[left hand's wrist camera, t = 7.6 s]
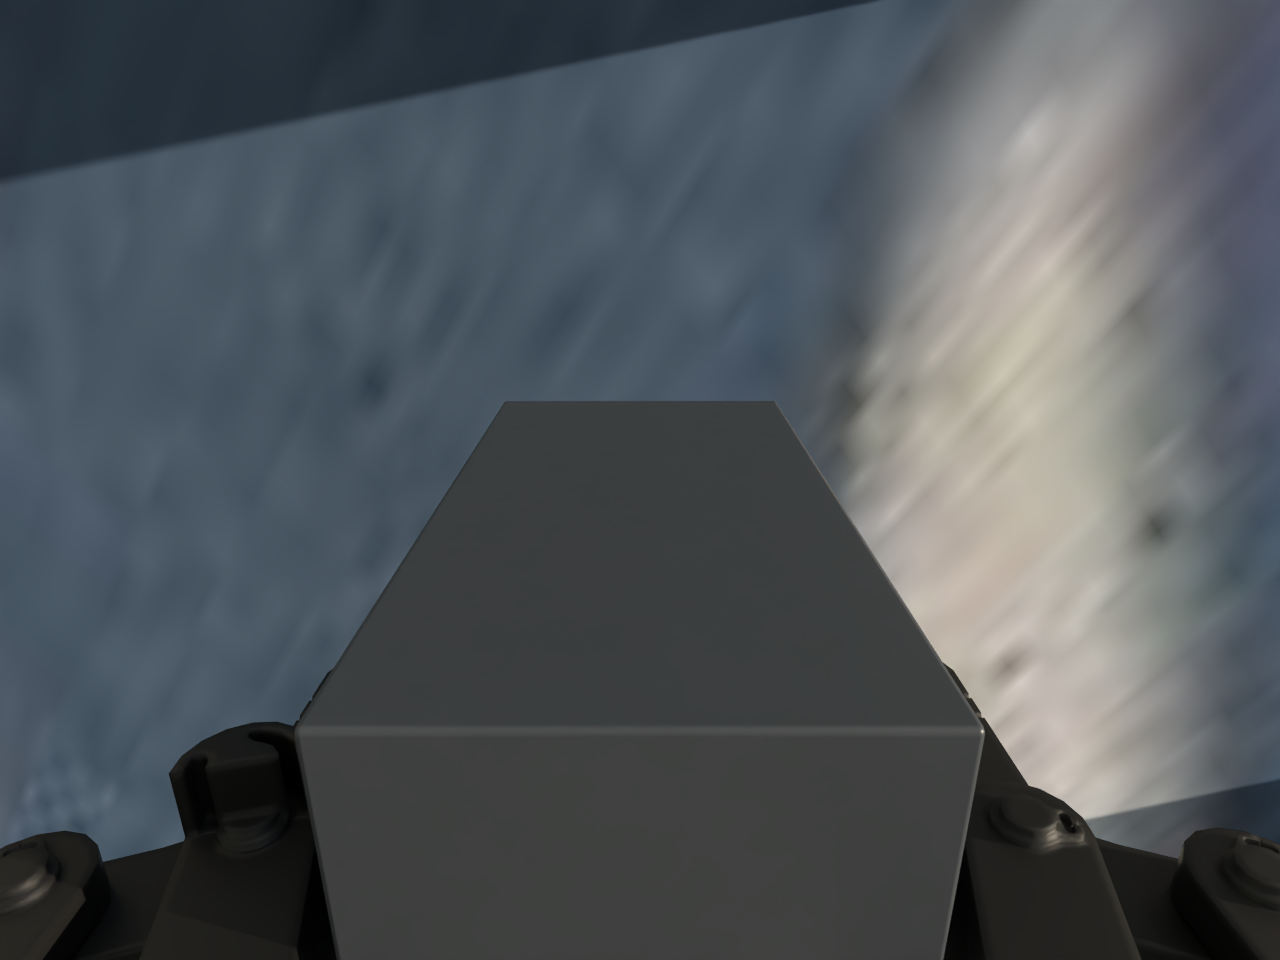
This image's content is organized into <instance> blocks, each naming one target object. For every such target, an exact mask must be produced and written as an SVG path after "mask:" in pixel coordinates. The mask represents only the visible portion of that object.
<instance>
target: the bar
mask: <svg viewBox="0 0 1280 960" xmlns="http://www.w3.org/2000/svg"><path fill="white" fill-rule="evenodd" d="M984 737H985V730H984V727H983V725H982V723H981V722H980V720H979V719H978V717H977V716H976V714H975V713H974V711H973V709H972V708H971V706H970V705H969V703H968V702H967V700H966V698H965V697H964V695H963V694H962V692H961V691H960V689H959V688H958V686H957V684H956V683H955V681H954V680H953V678H952V677H951V675H950V673H949V672H948V670H947V669H946V667H945V666H944V664H943V663H942V661H941V659H940V658H939V656H938V655H937V653H936V652H935V650H934V648H933V647H932V645H931V644H930V642H929V641H928V639H927V638H926V636H925V634H924V633H923V631H922V630H921V628H920V627H919V625H918V623H917V622H916V620H915V619H914V617H913V616H912V614H911V613H910V611H909V609H908V608H907V606H906V605H905V603H904V602H903V600H902V598H901V597H900V595H899V594H898V592H897V591H896V589H895V588H894V586H893V584H892V583H891V581H890V580H889V578H888V577H887V575H886V573H885V572H884V570H883V569H882V567H881V566H880V564H879V563H878V561H877V559H876V558H875V556H874V555H873V553H872V552H871V550H870V548H869V547H868V545H867V544H866V542H865V541H864V539H863V538H862V536H861V534H860V533H859V531H858V530H857V528H856V527H855V525H854V524H853V522H852V520H851V519H850V517H849V516H848V514H847V513H846V511H845V509H844V508H843V506H842V505H841V503H840V502H839V500H838V499H837V497H836V495H835V494H834V492H833V491H832V489H831V488H830V486H829V484H828V483H827V481H826V480H825V478H824V477H823V475H822V474H821V472H820V470H819V469H818V467H817V466H816V464H815V463H814V461H813V459H812V458H811V456H810V455H809V453H808V452H807V450H806V449H805V447H804V445H803V444H802V442H801V441H800V439H799V438H798V436H797V434H796V433H795V431H794V430H793V428H792V427H791V425H790V424H789V422H788V420H787V419H786V417H785V416H784V414H783V413H782V411H781V409H780V408H779V406H778V405H777V403H776V402H774V401H507V402H505V403H504V404H503V406H502V407H501V409H500V410H499V412H498V413H497V415H496V417H495V418H494V420H493V421H492V423H491V424H490V426H489V427H488V429H487V431H486V432H485V434H484V435H483V437H482V438H481V440H480V441H479V443H478V445H477V446H476V448H475V449H474V451H473V452H472V454H471V455H470V457H469V459H468V460H467V462H466V463H465V465H464V466H463V468H462V469H461V471H460V473H459V474H458V476H457V477H456V479H455V480H454V482H453V483H452V485H451V487H450V488H449V490H448V491H447V493H446V494H445V496H444V497H443V499H442V501H441V502H440V504H439V505H438V507H437V508H436V510H435V511H434V513H433V515H432V516H431V518H430V519H429V521H428V522H427V524H426V525H425V527H424V529H423V530H422V532H421V533H420V535H419V536H418V538H417V539H416V541H415V543H414V544H413V546H412V547H411V549H410V550H409V552H408V553H407V555H406V556H405V558H404V560H403V561H402V563H401V564H400V566H399V567H398V569H397V570H396V572H395V574H394V575H393V577H392V578H391V580H390V581H389V583H388V584H387V586H386V588H385V589H384V591H383V592H382V594H381V595H380V597H379V598H378V600H377V602H376V603H375V605H374V606H373V608H372V609H371V611H370V612H369V614H368V616H367V617H366V619H365V620H364V622H363V623H362V625H361V626H360V628H359V630H358V631H357V633H356V634H355V636H354V637H353V639H352V640H351V642H350V644H349V645H348V647H347V648H346V650H345V651H344V653H343V654H342V656H341V658H340V659H339V661H338V662H337V664H336V665H335V667H334V668H333V670H332V672H331V673H330V675H329V676H328V678H327V679H326V681H325V682H324V684H323V686H322V687H321V689H320V690H319V692H318V693H317V695H316V696H315V698H314V700H313V701H312V703H311V704H310V706H309V707H308V709H307V710H306V712H305V714H304V715H303V717H302V718H301V720H300V721H299V723H298V724H297V726H296V729H295V741H296V746H297V751H298V757H299V762H300V767H301V773H302V778H303V783H304V789H305V794H306V799H307V804H308V810H309V815H310V820H311V826H312V831H313V836H314V841H315V847H316V852H317V857H318V863H319V868H320V873H321V879H322V884H323V889H324V894H325V900H326V905H327V910H328V916H329V921H330V926H331V931H332V937H333V942H334V947H335V953H336V958H337V960H943V958H944V953H945V947H946V942H947V937H948V931H949V926H950V920H951V915H952V910H953V904H954V899H955V894H956V888H957V883H958V877H959V872H960V867H961V861H962V856H963V850H964V845H965V840H966V834H967V829H968V824H969V818H970V813H971V807H972V802H973V797H974V791H975V786H976V780H977V775H978V770H979V764H980V759H981V754H982V748H983V743H984Z"/></svg>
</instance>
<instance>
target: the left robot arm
mask: <svg viewBox="0 0 1280 960" xmlns="http://www.w3.org/2000/svg"><path fill="white" fill-rule="evenodd" d="M942 663H943V662H942ZM943 664H944V663H943ZM944 666H945V667H946V669H947V670H948V672H949V673H950V675H951V677H952V678H953V680H954V681H955V683H956V684H957V686H958V688H959V689H960V691H961V692H962V694H963V695H964V697H965V698H966V700H967V702H968V703H969V705H970V706H971V708H972V709H973V711H974V713H975V714H976V716H977V717H978V719H979V720H980V722H981V723H982V725H983V727H984V730H985V737H984V743H983V748H982V754H981V759H980V764H979V770H978V775H977V780H976V786H975V791H974V797H973V802H972V807H971V813H970V818H969V824H968V829H967V834H966V840H965V845H964V850H963V856H962V861H961V867H960V872H959V877H958V883H957V888H956V894H955V899H954V904H953V910H952V915H951V920H950V926H949V931H948V937H947V942H946V947H945V953H944V958H943V960H1280V845H1279V844H1277V843H1276V842H1273V841H1270V840H1267V839H1264V838H1262V837H1259V836H1256V835H1253V834H1250V833H1247V832H1245V831H1238V830H1230V829H1223V828H1212V829H1206V830H1200V831H1196V832H1194V833H1193V834H1192V835H1191V836H1190V837H1189V838H1188V839H1187V840H1185V841H1184V844H1183V847H1182V850H1181V854H1180V857H1179V859H1176V858H1172V857H1168V856H1163V855H1159V854H1155V853H1151V852H1147V851H1142V850H1138V849H1134V848H1130V847H1126V846H1121V845H1118V844H1114V843H1111V842H1108V841H1105V840H1101V839H1098V838H1096V837H1095V836H1094V834H1093V833H1092V831H1091V830H1090V828H1089V827H1088V825H1087V824H1086V822H1085V820H1084V819H1083V818H1082V817H1081V816H1080V815H1079V814H1078V813H1077V812H1075V811H1074V810H1073V809H1072V808H1071V807H1070V806H1068V805H1067V804H1066V803H1065V802H1064V801H1062V800H1060V799H1058V798H1056V797H1054V796H1052V795H1050V794H1048V793H1046V792H1045V791H1043V790H1041V789H1038V788H1035V787H1031V786H1028V784H1027V783H1026V781H1025V779H1024V778H1023V776H1022V775H1021V773H1020V772H1019V770H1018V769H1017V767H1016V766H1015V764H1014V763H1013V761H1012V760H1011V758H1010V756H1009V755H1008V753H1007V752H1006V750H1005V749H1004V747H1003V746H1002V744H1001V743H1000V741H999V740H998V738H997V737H996V735H995V733H994V732H993V730H992V729H991V727H990V726H989V724H988V723H987V721H986V720H985V718H982V717H981V712H980V710H979V709H978V707H977V706H976V704H975V703H974V701H973V700H972V698H969V696H968V692H967V691H966V689H965V687H964V686H963V684H962V683H961V681H960V680H959V678H958V677H957V675H956V674H955V672H954V671H953V670H952V669H951V668H949V667H948V666H947V665H945V664H944ZM332 670H333V669H332ZM332 670H331V671H329V672H328V673H327V675H326V676H325V678H324V679H323V681H322V682H321V684H320V685H319V687H318V689H317V690H316V692H315V693H314V695H313V699H312V701H313V700H314V698H315V696H316V695H317V693H318V692H319V690H320V689H321V687H322V686H323V684H324V682H325V681H326V679H327V678H328V676H329V675H330V673H331V672H332ZM312 701H309V702H308V704H307V705H306V707H305V709H304V710H303V712H302V713H301V715H300V720H301V718H302V717H303V715H304V714H305V712H306V710H307V709H308V707H309V706H310V704H311V703H312ZM300 720H299V721H300ZM299 721H296V722H295V724H294V726H291V725H287V724H284V723H280V722H255V723H250V724H246V725H242V726H238V727H234V728H230V729H226V730H224V731H222V732H220V733H218V734H216V735H213V736H211V737H209V738H207V739H205V740H203V741H201V742H200V743H198V744H197V745H196V746H194V747H193V748H192V749H190V750H189V751H188V752H186V753H185V754H184V755H182V756H181V758H180V759H179V760H178V762H177V763H176V764H175V766H174V767H173V769H172V770H171V771H170V773H169V776H170V780H171V784H172V788H173V792H174V795H175V799H176V803H177V807H178V811H179V815H180V818H181V822H182V826H183V830H184V834H185V840H184V841H183V842H180V843H177V844H173V845H170V846H167V847H164V848H160V849H156V850H152V851H147V852H143V853H139V854H135V855H131V856H126V857H122V858H118V859H114V860H110V861H105V862H103V861H102V858H101V854H100V851H99V848H98V845H97V844H96V843H95V842H94V841H93V840H92V839H90V838H89V837H88V836H87V835H86V834H81V833H75V832H69V831H60V832H52V833H45V834H38V835H35V836H32V837H29V838H26V839H24V840H21V841H18V842H15V843H12V844H9V845H7V846H5V847H3V848H1V849H0V960H337V958H336V953H335V947H334V942H333V937H332V931H331V926H330V921H329V916H328V910H327V905H326V900H325V894H324V889H323V884H322V879H321V873H320V868H319V863H318V857H317V852H316V847H315V841H314V836H313V831H312V826H311V820H310V815H309V810H308V804H307V799H306V794H305V789H304V783H303V778H302V773H301V767H300V762H299V757H298V751H297V746H296V741H295V729H296V726H297V724H298V723H299Z"/></svg>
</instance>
